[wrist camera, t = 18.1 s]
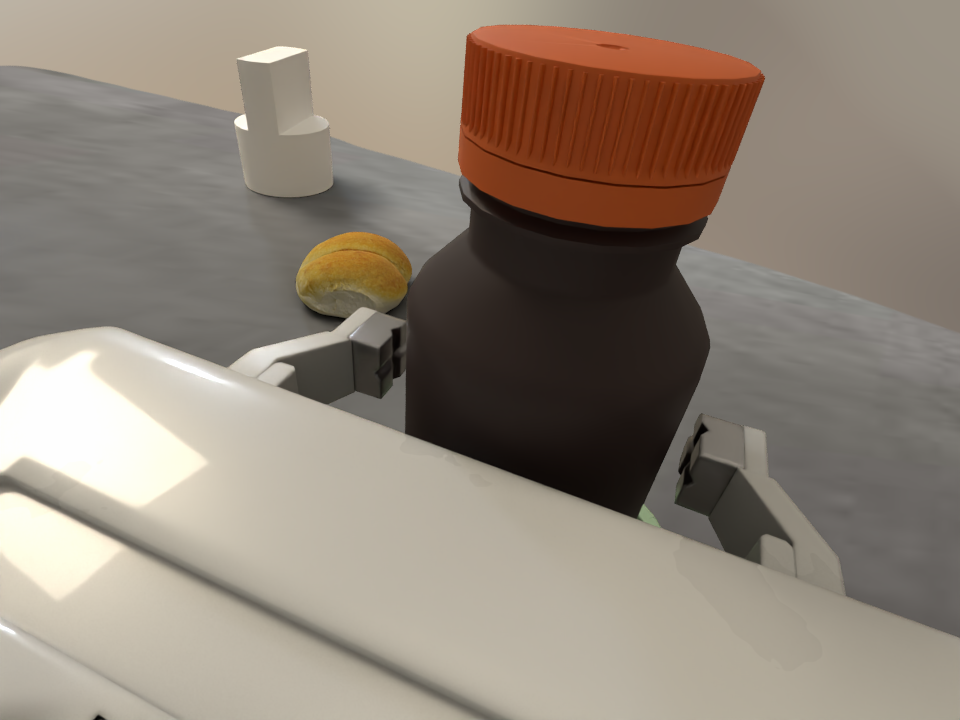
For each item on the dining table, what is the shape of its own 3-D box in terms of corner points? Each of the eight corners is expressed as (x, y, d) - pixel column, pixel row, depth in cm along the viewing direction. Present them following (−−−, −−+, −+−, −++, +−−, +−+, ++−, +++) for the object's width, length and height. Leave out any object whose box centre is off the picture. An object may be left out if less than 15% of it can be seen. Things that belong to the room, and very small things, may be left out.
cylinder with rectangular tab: (268, 162, 61) (251, 42, 54) (345, 173, 60) (338, 53, 53) (228, 189, 54) (201, 54, 46) (314, 202, 53) (301, 68, 46)
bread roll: (414, 267, 45) (416, 222, 42) (401, 327, 38) (402, 277, 35) (315, 257, 44) (311, 212, 42) (283, 316, 37) (275, 265, 35)
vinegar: (369, 675, 19) (321, 34, 7) (443, 527, 24) (487, 9, 12) (550, 757, 18) (885, 129, 6) (587, 580, 23) (803, 54, 11)
